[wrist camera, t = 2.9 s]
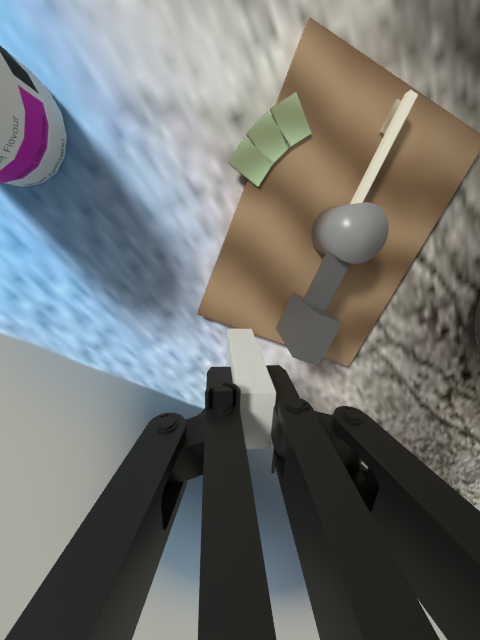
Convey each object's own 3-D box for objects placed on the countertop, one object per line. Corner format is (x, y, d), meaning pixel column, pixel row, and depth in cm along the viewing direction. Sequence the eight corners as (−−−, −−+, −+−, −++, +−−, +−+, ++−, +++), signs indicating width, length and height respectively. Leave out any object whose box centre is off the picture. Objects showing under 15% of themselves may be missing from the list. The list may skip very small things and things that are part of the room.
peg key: (378, 86, 20) (445, 31, 14) (421, 114, 21) (501, 74, 15) (266, 324, 26) (281, 353, 20) (303, 337, 27) (328, 369, 21)
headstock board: (281, 13, 19) (286, -3, 18) (474, 142, 24) (491, 137, 22) (179, 303, 26) (177, 308, 25) (343, 361, 31) (349, 368, 29)
